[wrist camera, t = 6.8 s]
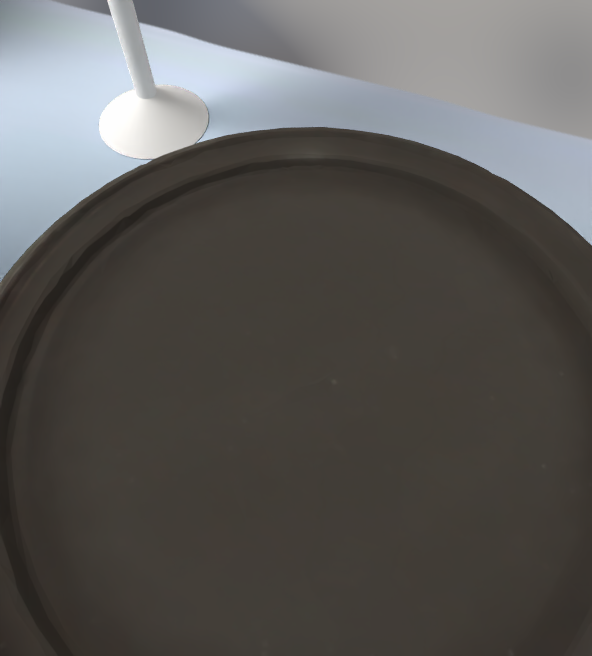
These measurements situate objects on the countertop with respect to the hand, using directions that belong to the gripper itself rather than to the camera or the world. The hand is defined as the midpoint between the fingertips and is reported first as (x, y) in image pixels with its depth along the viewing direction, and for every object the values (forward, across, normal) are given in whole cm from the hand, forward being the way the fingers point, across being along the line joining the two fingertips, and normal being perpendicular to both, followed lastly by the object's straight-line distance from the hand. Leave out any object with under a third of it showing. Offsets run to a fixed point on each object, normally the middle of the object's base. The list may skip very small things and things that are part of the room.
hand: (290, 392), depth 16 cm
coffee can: (+2, 0, -6) cm, 6 cm away
